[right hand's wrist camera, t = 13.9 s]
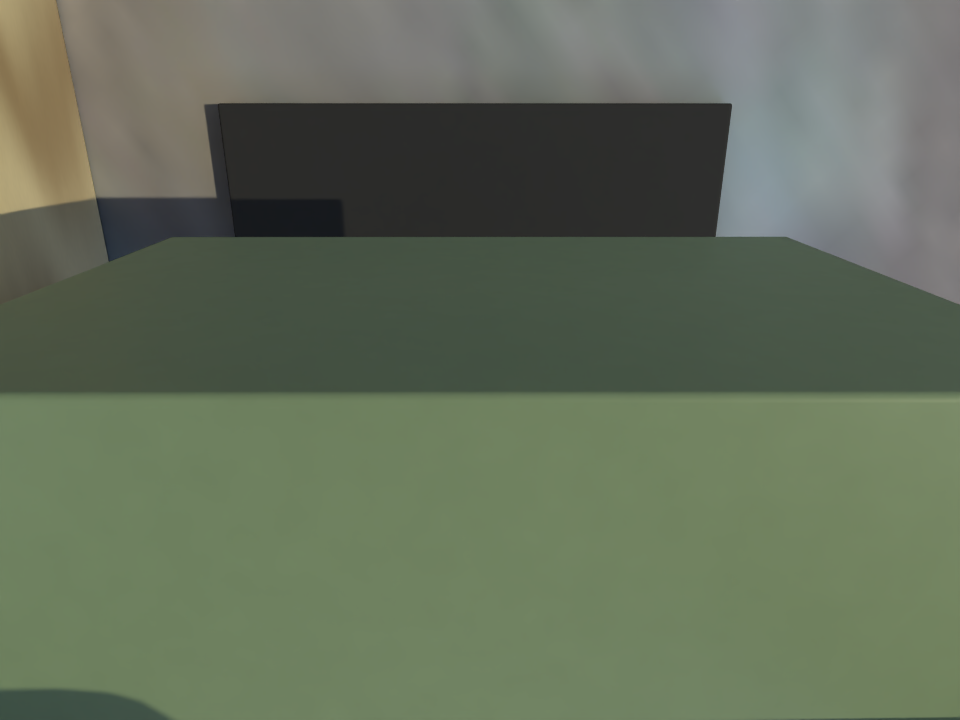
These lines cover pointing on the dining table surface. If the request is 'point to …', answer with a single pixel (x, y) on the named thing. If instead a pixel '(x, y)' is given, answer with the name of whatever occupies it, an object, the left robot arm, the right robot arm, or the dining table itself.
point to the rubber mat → (474, 169)
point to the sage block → (479, 484)
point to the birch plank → (42, 157)
